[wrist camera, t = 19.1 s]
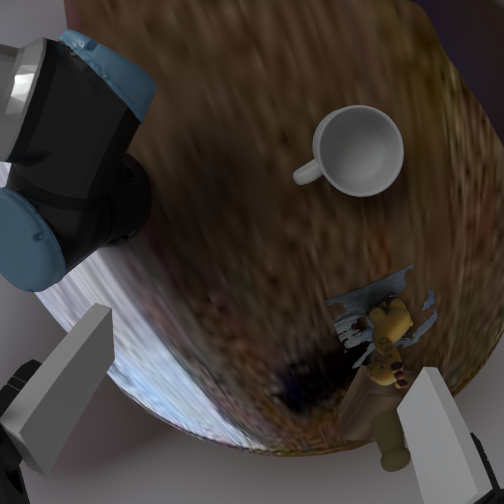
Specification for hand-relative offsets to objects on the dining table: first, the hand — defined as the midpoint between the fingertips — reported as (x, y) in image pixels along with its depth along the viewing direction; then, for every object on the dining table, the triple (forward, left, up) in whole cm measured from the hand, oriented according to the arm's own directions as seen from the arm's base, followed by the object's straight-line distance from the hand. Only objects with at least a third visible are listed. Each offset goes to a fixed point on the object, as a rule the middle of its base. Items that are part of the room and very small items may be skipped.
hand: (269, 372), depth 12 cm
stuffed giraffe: (+23, -16, -35) cm, 45 cm away
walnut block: (+29, -33, -35) cm, 56 cm away
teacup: (+7, +8, -35) cm, 37 cm away
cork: (+29, -33, -27) cm, 51 cm away
